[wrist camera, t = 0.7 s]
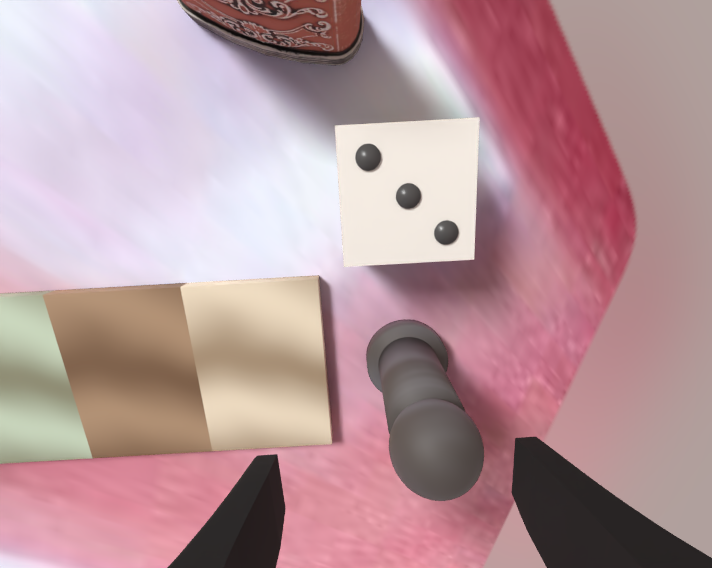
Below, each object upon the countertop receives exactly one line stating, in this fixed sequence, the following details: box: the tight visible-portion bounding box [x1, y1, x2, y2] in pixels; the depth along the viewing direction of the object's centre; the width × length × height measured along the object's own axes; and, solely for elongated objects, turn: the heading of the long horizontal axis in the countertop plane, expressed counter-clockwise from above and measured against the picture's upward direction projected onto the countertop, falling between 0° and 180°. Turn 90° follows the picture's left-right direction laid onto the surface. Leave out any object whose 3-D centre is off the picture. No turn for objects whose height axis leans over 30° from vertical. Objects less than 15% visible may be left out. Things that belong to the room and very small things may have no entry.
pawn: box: [366, 320, 484, 501], centre depth 16 cm, size 4×4×9 cm
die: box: [335, 117, 479, 267], centre depth 15 cm, size 5×5×5 cm
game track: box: [0, 275, 332, 464], centre depth 20 cm, size 10×21×1 cm, turn 93°
